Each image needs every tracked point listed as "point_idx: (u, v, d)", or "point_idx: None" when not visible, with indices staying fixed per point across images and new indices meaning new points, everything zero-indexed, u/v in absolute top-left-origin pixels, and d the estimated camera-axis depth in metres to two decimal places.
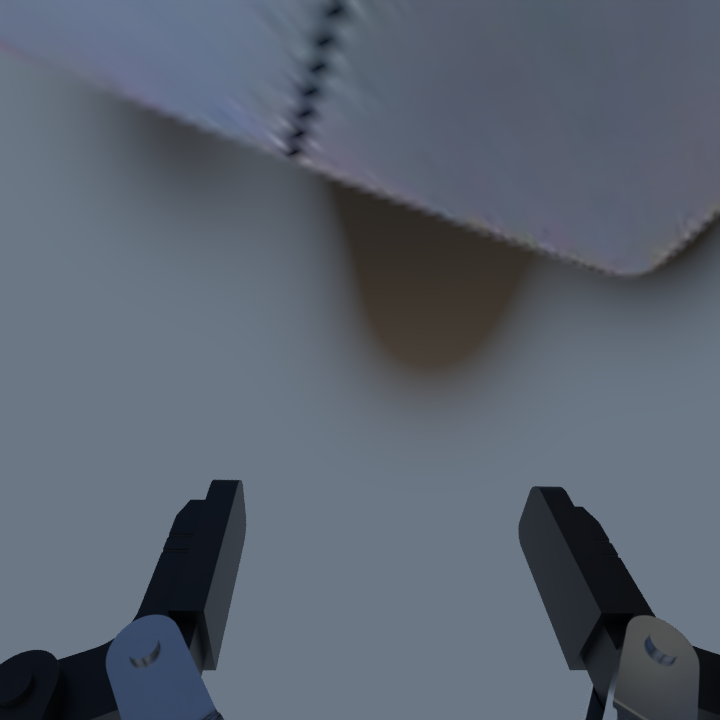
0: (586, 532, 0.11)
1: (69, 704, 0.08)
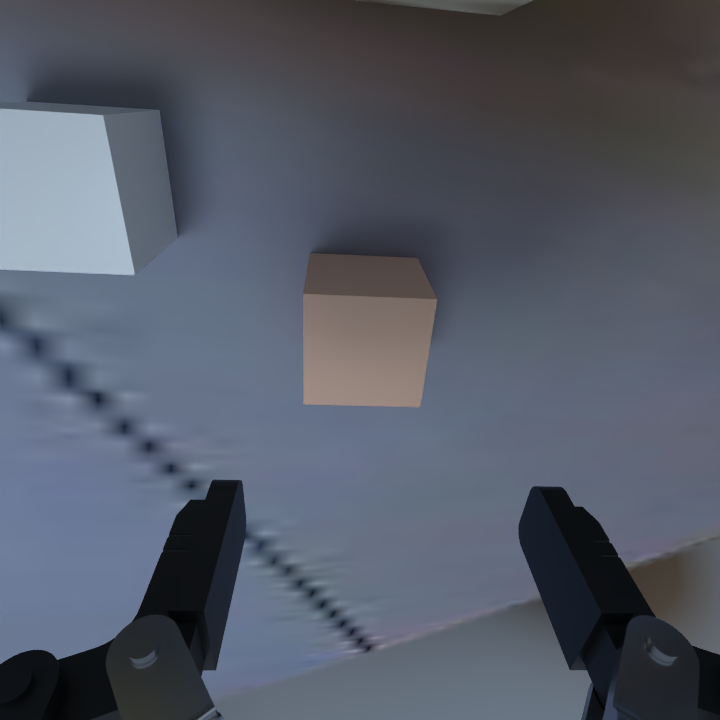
0: (586, 532, 0.11)
1: (69, 704, 0.08)
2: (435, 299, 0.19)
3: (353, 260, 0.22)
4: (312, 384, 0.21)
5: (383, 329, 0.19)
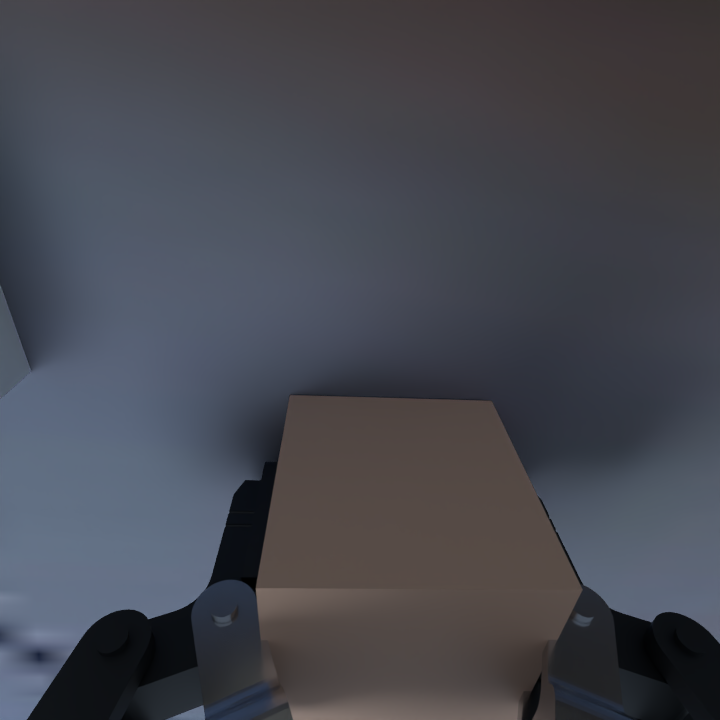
0: None
1: (155, 669, 0.08)
2: (577, 589, 0.08)
3: (372, 419, 0.11)
4: None
5: (446, 637, 0.08)
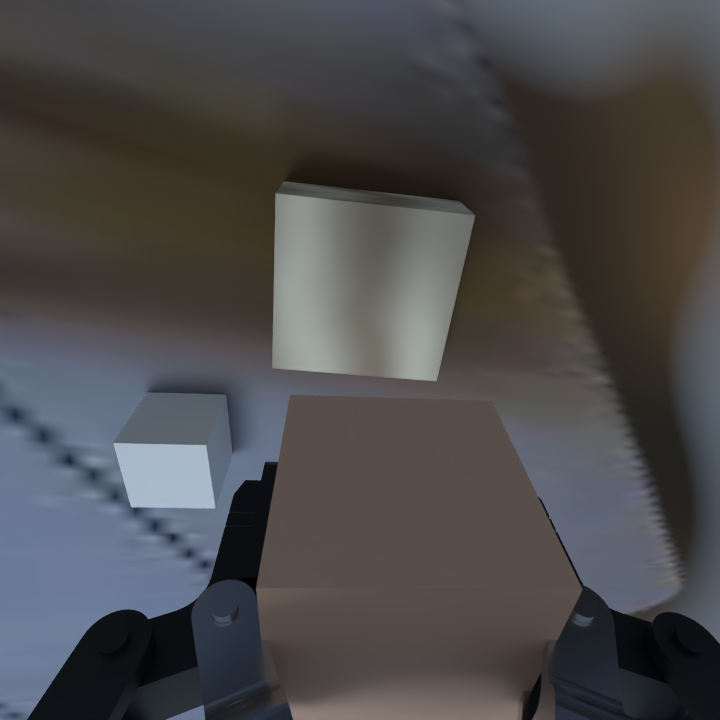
0: None
1: (155, 669, 0.08)
2: (577, 589, 0.08)
3: (372, 419, 0.11)
4: None
5: (447, 638, 0.08)
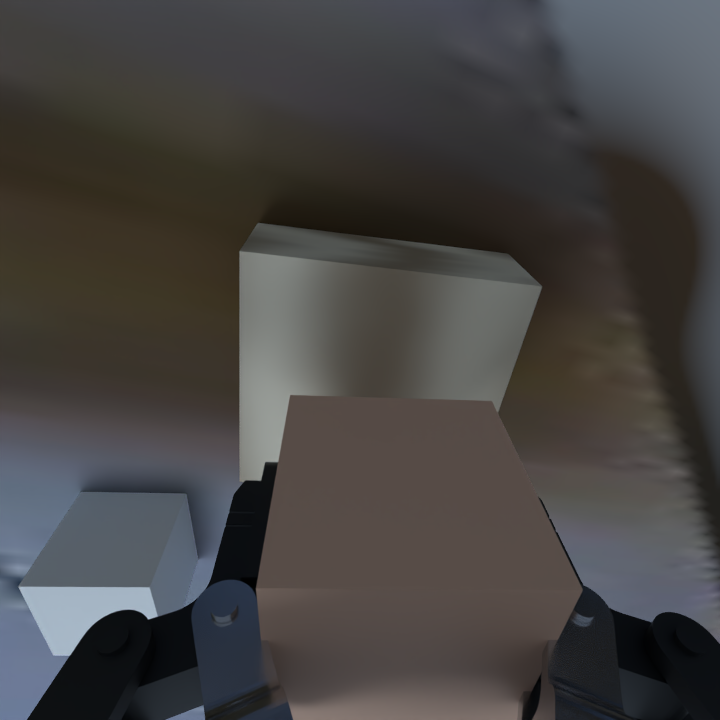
0: None
1: (155, 669, 0.08)
2: (578, 589, 0.08)
3: (372, 419, 0.11)
4: None
5: (447, 638, 0.08)
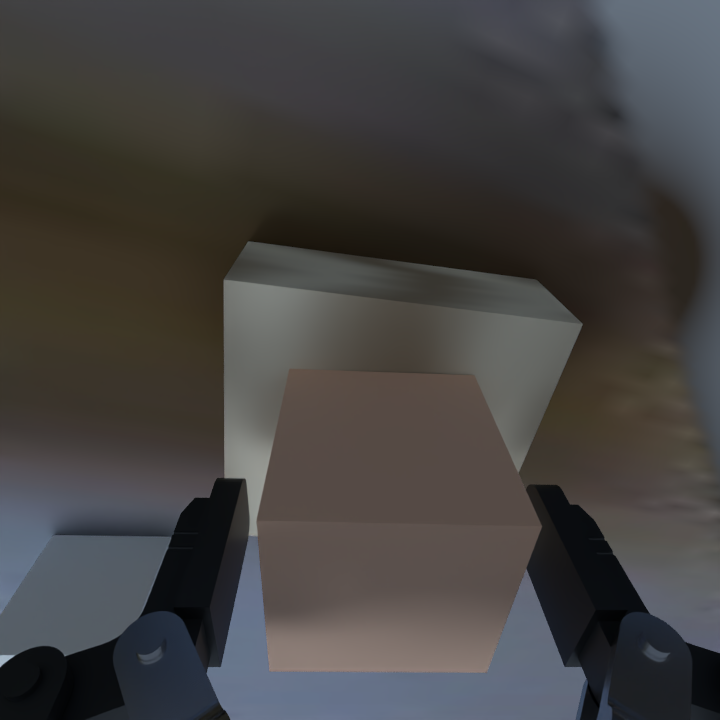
0: (581, 530, 0.11)
1: (76, 700, 0.08)
2: (537, 526, 0.09)
3: (364, 389, 0.13)
4: (284, 647, 0.11)
5: (424, 572, 0.09)
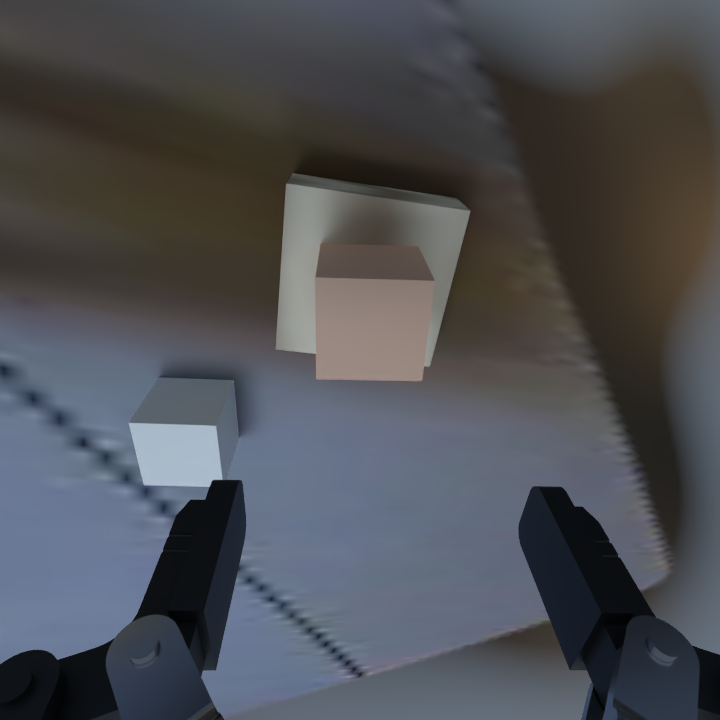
0: (586, 532, 0.11)
1: (69, 704, 0.08)
2: (433, 281, 0.21)
3: (359, 249, 0.25)
4: (323, 360, 0.23)
5: (387, 309, 0.22)
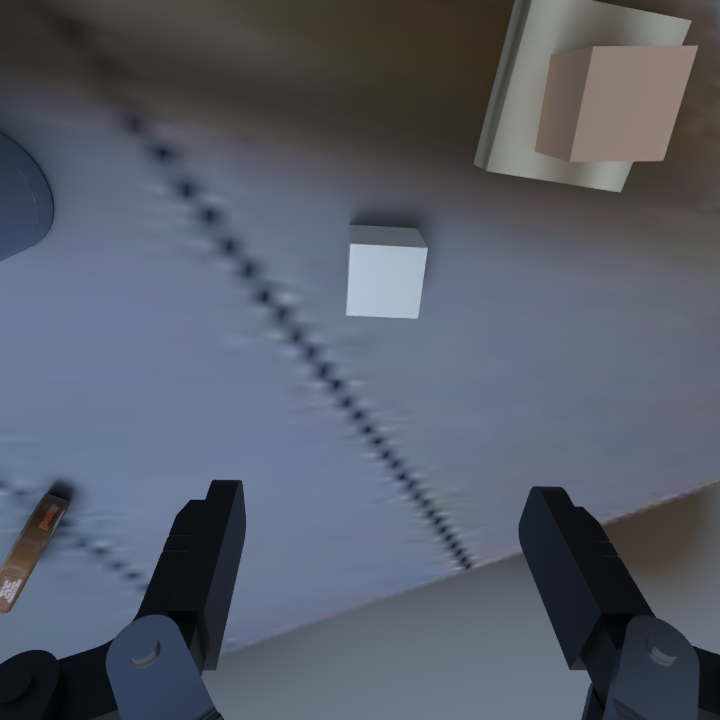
0: (586, 532, 0.11)
1: (69, 704, 0.08)
2: (696, 46, 0.24)
3: None
4: (580, 140, 0.26)
5: (649, 79, 0.24)
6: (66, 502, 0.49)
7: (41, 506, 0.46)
